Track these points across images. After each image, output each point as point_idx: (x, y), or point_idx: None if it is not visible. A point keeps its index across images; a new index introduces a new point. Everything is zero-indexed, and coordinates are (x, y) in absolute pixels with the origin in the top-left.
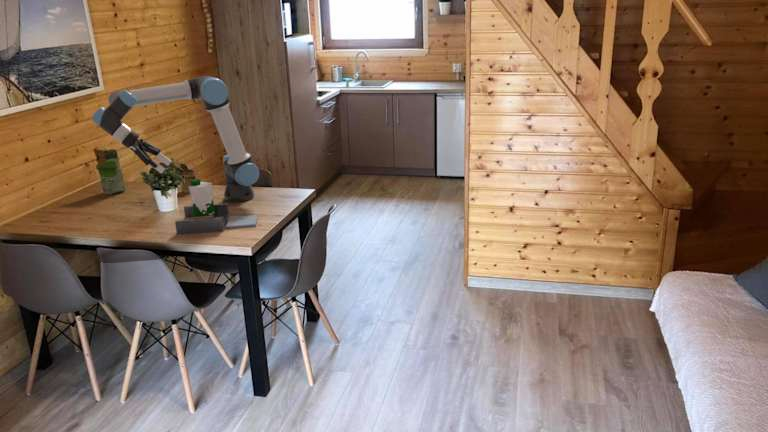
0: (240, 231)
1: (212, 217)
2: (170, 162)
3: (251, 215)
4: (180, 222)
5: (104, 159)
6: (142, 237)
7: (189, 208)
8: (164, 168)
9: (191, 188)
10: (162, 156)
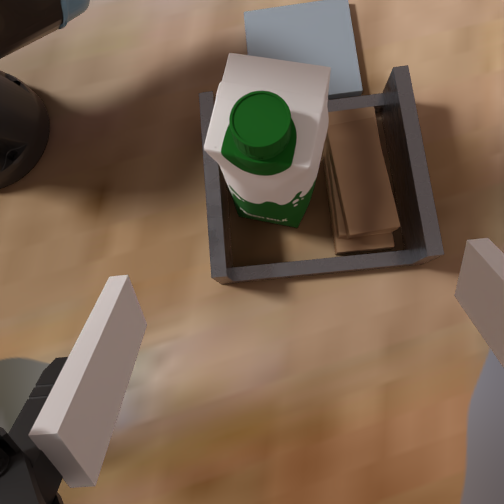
0: (395, 41)
1: (353, 122)
2: (130, 287)
3: (247, 31)
4: (437, 232)
5: None
6: (449, 407)
7: (226, 252)
8: (482, 245)
9: (315, 152)
10: (94, 380)
